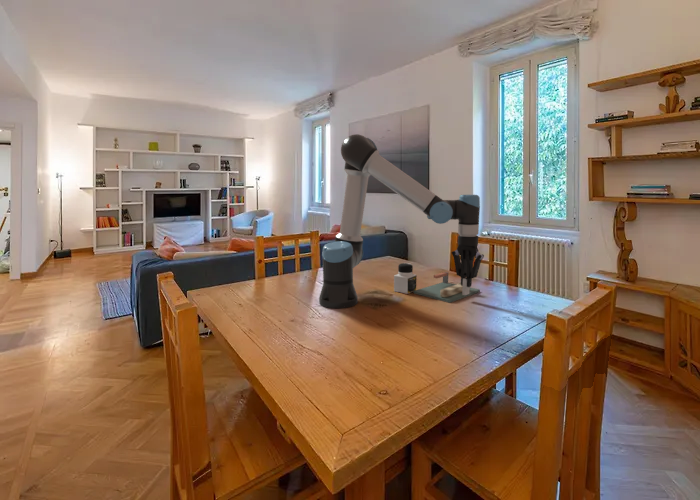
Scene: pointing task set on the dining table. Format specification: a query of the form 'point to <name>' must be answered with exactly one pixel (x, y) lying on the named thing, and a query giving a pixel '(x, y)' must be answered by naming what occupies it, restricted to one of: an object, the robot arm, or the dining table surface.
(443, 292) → the beige lumpy bar
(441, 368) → the dining table surface
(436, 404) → the dining table surface
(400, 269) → the medicine bottle
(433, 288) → the pintle board
